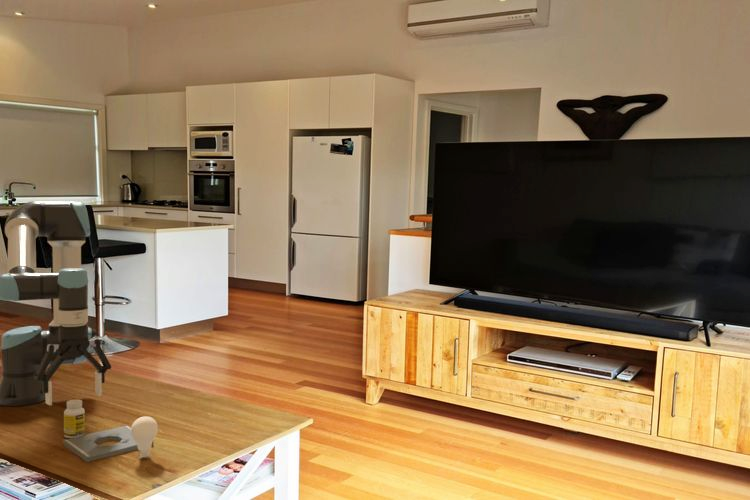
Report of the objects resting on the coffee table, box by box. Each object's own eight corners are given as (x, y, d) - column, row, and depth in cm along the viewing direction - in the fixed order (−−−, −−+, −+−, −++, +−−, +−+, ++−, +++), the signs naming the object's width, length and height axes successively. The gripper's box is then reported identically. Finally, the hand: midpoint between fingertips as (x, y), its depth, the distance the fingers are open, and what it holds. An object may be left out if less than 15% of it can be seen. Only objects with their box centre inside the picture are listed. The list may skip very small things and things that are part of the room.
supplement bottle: (77, 439, 188) (76, 405, 188) (59, 437, 189) (59, 403, 189) (89, 433, 194) (88, 399, 193) (72, 431, 195) (71, 397, 194)
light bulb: (134, 453, 180) (134, 412, 179) (160, 453, 180) (160, 412, 179) (127, 463, 173) (127, 421, 172) (154, 463, 174) (154, 421, 173)
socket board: (63, 444, 185) (62, 439, 184) (127, 429, 197) (127, 425, 197) (87, 462, 173) (87, 457, 173) (153, 445, 186) (153, 440, 186)
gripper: (30, 331, 177) (31, 411, 179) (123, 321, 195) (123, 393, 197) (20, 327, 183) (21, 405, 184) (111, 317, 200) (112, 388, 202)
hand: (74, 399), depth 190 cm, fingers open, 13 cm apart
